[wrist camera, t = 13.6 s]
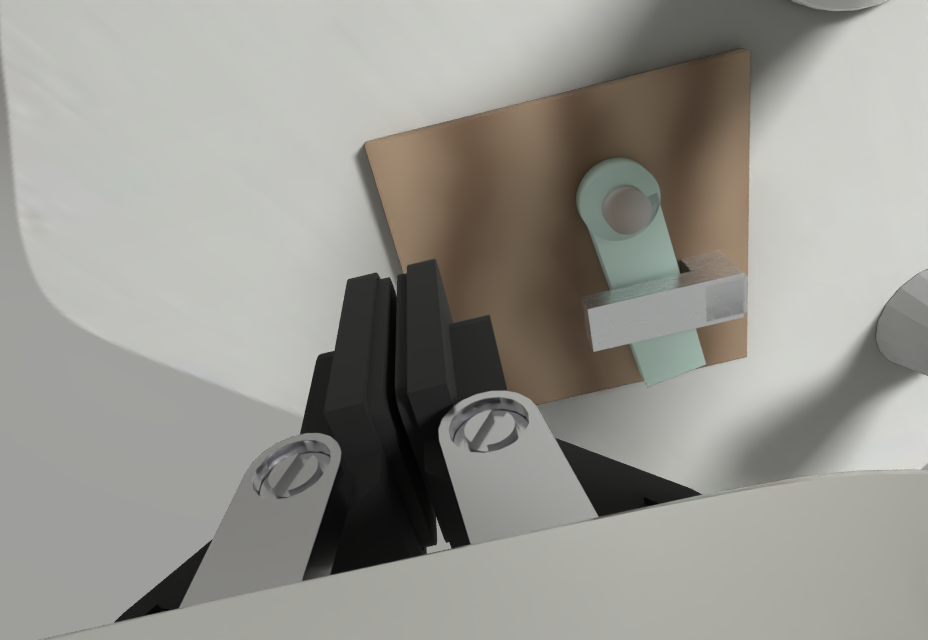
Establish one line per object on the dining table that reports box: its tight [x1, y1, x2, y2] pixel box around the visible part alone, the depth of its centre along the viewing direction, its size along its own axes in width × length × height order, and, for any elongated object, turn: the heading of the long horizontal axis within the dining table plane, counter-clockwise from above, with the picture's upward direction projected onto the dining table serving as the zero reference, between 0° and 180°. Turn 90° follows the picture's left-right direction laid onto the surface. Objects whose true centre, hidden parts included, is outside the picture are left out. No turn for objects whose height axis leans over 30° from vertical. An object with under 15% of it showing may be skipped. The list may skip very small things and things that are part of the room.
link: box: [576, 157, 706, 387], centre depth 38 cm, size 15×4×2 cm, turn 24°
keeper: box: [581, 250, 747, 352], centre depth 38 cm, size 9×3×4 cm, turn 103°
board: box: [365, 48, 751, 405], centre depth 37 cm, size 21×20×4 cm
